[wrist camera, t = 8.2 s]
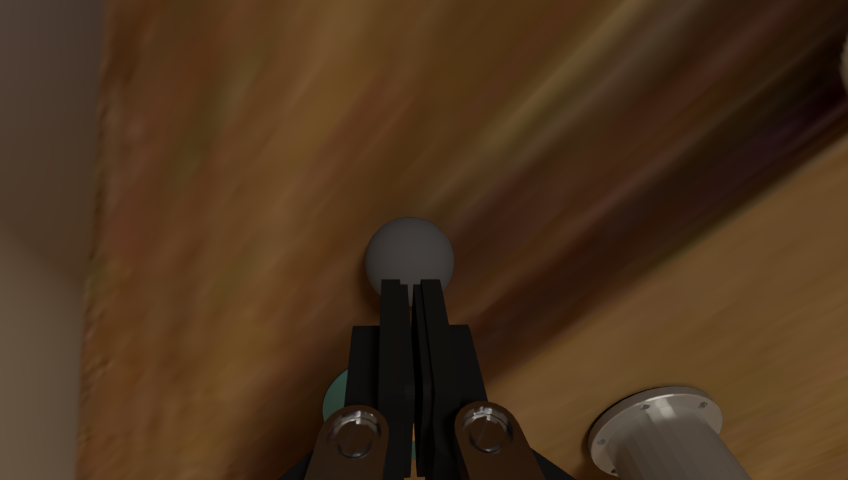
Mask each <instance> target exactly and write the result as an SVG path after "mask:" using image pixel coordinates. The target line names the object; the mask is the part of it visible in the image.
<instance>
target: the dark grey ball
mask: <svg viewBox="0 0 848 480" xmlns="http://www.w3.org/2000/svg"><path fill="white" fill-rule="evenodd" d="M453 269H454V255H453V250H452V247H451V244H450V242H449V240H448V238H447V237H446V236H445V234H444V233H443V232H442V231H441V230H440V229H439V228H438V227H437V226H435V225H434V224H432V223H430V222H428V221H426V220H424V219H420V218H414V217H405V218H399V219H395V220H393V221H390V222H389V223H387V224H385V225H384V226H382V227H381V228H380V229H379V230H378V231H377V232H376V233H375V234H374V235H373V237H372V238H371V240H370V242H369V244H368V247H367V250H366V254H365V270H366V274H367V277H368V280H369V282H370V284H371V286H372V287H373V289H374V290H375V291H376V292H377V293H378V294H379V295H380V296H381V279H400V284H408V296H409V307H412V300H413V285H414V284H420V281H421V279H440V282H441V287H442V292H443V291H444V290H445V288H446V287H447V285H448V284H449V282H450V280H451V277H452V274H453Z"/></svg>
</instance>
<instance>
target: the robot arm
mask: <svg viewBox="0 0 848 480" xmlns="http://www.w3.org/2000/svg"><path fill="white" fill-rule="evenodd" d="M722 423H723V421H722V413H721V411H720V408H719V407H718V406H717V405H716V403H715V402H714V401H713V400H712V398H710V397H709V396H708V395H707V394H706V393H704V392H702V391H699V390H697V389H693V388H689V387H678V386H670V387H660V388H656V389H651V390H647V391H644V392H641V393H638V394H635V395H633V396H631V397H629V398H627V399H625V400H622V401H621V402H619V403H618V404H616V405H615V406H613V407H611V408H610V409H609V410H608V411H607V412H605V413H604V414H603V415H602V416H601V417H600V418H599V420H598V421H597V422H596V423H595V425H594V426H593V428H592V430H591V431H590V434H589V437H588V450H589V453H590V455H591V457H592V459H593V461H594V463H595V465H596V466H597V467H598V468H599V469H600V470H602V471H604V472H606V473H608V474H611V475H614V476H617V477H619V479H620V480H752V478H751V477H750V476H749V474H748V473H747V472H746V471H745V469H744V468H743V467H742V465H741V464H740V463H739V462H738V460H737V459H736V458H735V456H734V455H733V454H732V452H731V451H730V450H729V449H728V447H727V446H726V445H725V443H724V442H723V441H722V439H721V438H720V437H719V436H718V434H719V433H720V430H721V427H722ZM413 424H414V437H415V454H416V470H417V477H425V480H576V479H575V478H573V477H572V476H570V475H569V474H567V473H566V472H565V471H563V470H562V469H560V468H559V467H557V466H556V465H555V464H553V463H552V462H550V461H549V460H547V459H546V458H545V457H543V456H542V455H540V454H539V453H537V452H536V451H535V450H533V449H532V448H530V446H529V444H528V442H527V440H526V438H525V436H524V434H523V432H522V429H521V427H520V425H519V423H518V422H517V420H516V419H515V417H514V416H513V415H512V414H511V413H510V412H509V411H508V410H507V409H505V408H504V407H502V406H500V405H498V404H496V403H492V402H488V399H487V395H486V391H485V387H484V383H483V380H482V376H481V372H480V368H479V364H478V360H477V356H476V352H475V348H474V344H473V340H472V336H471V332H470V329H469V326H468V325H449V323H448V318H447V313H446V308H445V302H444V297H443V292H442V287H441V282H440V279H421V281H420V284H414V285H413V300H412V321H411V325H410V310H409V296H408V284H400V279H381V305H380V326H353V329H352V337H351V346H350V355H349V364H348V373H347V382H346V391H345V400H344V407H343V408H341V409H339V410H337V411H336V412H334V413H332V414H331V415H330V416H329V417H328V419H327V420H326V421H325V422H324V424H323V426H322V428H321V430H320V433H319V436H318V439H317V442H316V445H315V448H314V450H313V451H311V452H310V453H309V454H308V455H307V456H305V457H304V458H303V459H302V460H301V461H299V462H298V463H297V464H296V465H295V466H293V467H292V468H291V469H290V470H288V471H287V472H286V473H285V474H284V475H282V476H281V477H280V478H279V479H278V480H404V478H410V475H411V458H412V441H413Z"/></svg>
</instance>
